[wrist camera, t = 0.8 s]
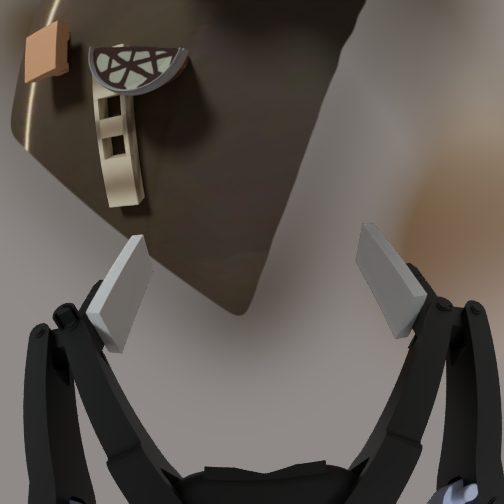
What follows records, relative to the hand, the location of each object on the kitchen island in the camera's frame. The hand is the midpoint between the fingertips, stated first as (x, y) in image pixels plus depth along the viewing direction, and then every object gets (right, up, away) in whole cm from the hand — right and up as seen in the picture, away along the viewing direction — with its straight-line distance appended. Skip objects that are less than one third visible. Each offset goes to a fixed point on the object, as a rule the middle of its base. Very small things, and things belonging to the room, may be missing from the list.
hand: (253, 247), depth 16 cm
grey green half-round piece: (-14, +25, +14) cm, 32 cm away
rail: (-19, +18, +17) cm, 32 cm away
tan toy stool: (-30, +31, +9) cm, 44 cm away
